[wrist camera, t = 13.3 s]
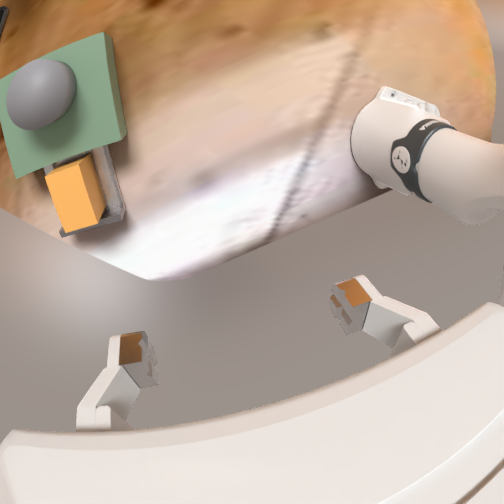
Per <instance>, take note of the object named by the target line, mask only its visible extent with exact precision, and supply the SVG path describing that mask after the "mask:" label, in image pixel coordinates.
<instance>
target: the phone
mask: <svg viewBox="0 0 504 504" xmlns="http://www.w3.org/2000/svg"><path fill="white" fill-rule="evenodd" d="M8 11H9V9H8V7H5V6H2V7H0V36H1V32H2V29H3V26H4V23H5V20H6V17H7V14H8Z"/></svg>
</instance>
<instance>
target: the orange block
mask: <svg viewBox="0 0 504 504" xmlns="http://www.w3.org/2000/svg"><path fill="white" fill-rule="evenodd" d="M45 179H46V182H47V185H48V188H49V191H50V194H51V197H52V200H53V203H54V205H55V208H56V210H57V213H58V216H59V218H60V221H61V223H62V226H63V228H64V230H65V233H68V232H71V231H74V230H78V229H81V228H84V227H88V226H91V225H95V224H98V222H99V220H100V218H101V215H102V213H103V211H104V209H105V207H106V201H105V198H104V195H103V192H102V188H101V185H100V182H99V178H98V175H97V171H96V168H95V164H94V160H93V157H92V153H91V152H90V153H87V154H84V155H81V156H79V157H76V158H73V159H70V160H67V161H65V162H62V163H60V164H59V165H58V166H57V167H55V168H54V169H53V170H52V171H51V172H50V173H49V174H47V175H46V176H45Z"/></svg>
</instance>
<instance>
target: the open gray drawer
mask: <svg viewBox="0 0 504 504" xmlns="http://www.w3.org/2000/svg"><path fill="white" fill-rule="evenodd" d="M90 152H91V153H92V157H93V160H94V164H95V168H96V171H97V175H98V178H99V182H100V185H101V188H102V192H103V195H104V198H105V201H106V207H105V209H104V211H103V213H102V215H101V218H100V220H99V222H98V224H95V225H91V226H88V227H84V228H81V229H78V230H74V231H71V232H68V233H65V230H64V228H63V226H62V228H61V230H60V231H59V233H60V235H61V237H66V236H69V235H72V234H76V233H79V232H82V231H86V230H89V229H93V228H96V227H100V226H104V225H107V224H111V223H115V222H118V221H122V220H123V217H124V213H125V210H126V207H125V204H124V201H123V198H122V194H121V191H120V187H119V184H118V180H117V177H116V173H115V169H114V165H113V162H112V158H111V154H110V150H109V146H108V144H107V145H104V146H101V147H97V148H94V149H91V150H88V151H85V152H82V153H80V154H77V155H74V156H71V157H68V158H66V159H63V160H60V161H58V162H55V163H53V164H50V165H48V166H45V167H43V168H44V171H45V174H46V175H47V174H49V173H50V172H51V171H52V170H53V169H54V168H55V167H57V166H58V165H59V164H60V163H62V162H65V161H67V160H70V159H73V158H76V157H79V156H81V155H84V154H87V153H90Z"/></svg>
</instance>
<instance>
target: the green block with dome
mask: <svg viewBox="0 0 504 504" xmlns="http://www.w3.org/2000/svg"><path fill="white" fill-rule="evenodd" d="M0 121H1V125H2V130H3V134H4V138H5V142H6V146H7V150H8V154H9V157H10V161H11V164H12V167H13V170H14V174H15V177H16V179H18V178H20V177H22V176H24V175H26V174H29V173H31V172H33V171H36V170H38V169H40V168H43V167H45V166H48V165H50V164H53V163H55V162H58V161H60V160H63V159H66V158H68V157H71V156H74V155H77V154H80V153H82V152H85V151H88V150H91V149H94V148H97V147H101V146H104V145H107V144H110V143H114V142H117V141H120V140H122V139H123V138H124V137H125V136H126V134H127V128H126V123H125V118H124V113H123V108H122V102H121V97H120V91H119V85H118V79H117V72H116V65H115V58H114V50H113V42H112V38H111V37H110V36H109V35H107V34H106V33H105V32H102V33H99V34H96V35H93V36H90V37H87V38H84V39H82V40H79V41H77V42H74V43H72V44H69V45H67V46H64V47H62V48H60V49H57V50H55V51H53V52H51V53H49V54H46V55H44V56H42V57H40V58H38V59H36V60H34V61H31V62H29V63H27V64H26V65H24V66H23V67H21V68H19V69H17V70H16V71H14V72H12V73H10V74H9V75H7V76H5V77H4V78H2V79H0Z"/></svg>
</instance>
